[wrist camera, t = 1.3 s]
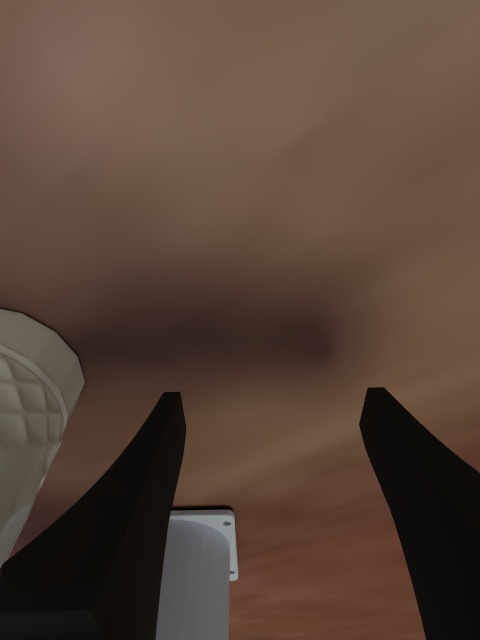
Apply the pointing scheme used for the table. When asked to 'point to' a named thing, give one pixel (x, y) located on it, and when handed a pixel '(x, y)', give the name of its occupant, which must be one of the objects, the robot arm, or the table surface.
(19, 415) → the white cup
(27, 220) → the table surface
